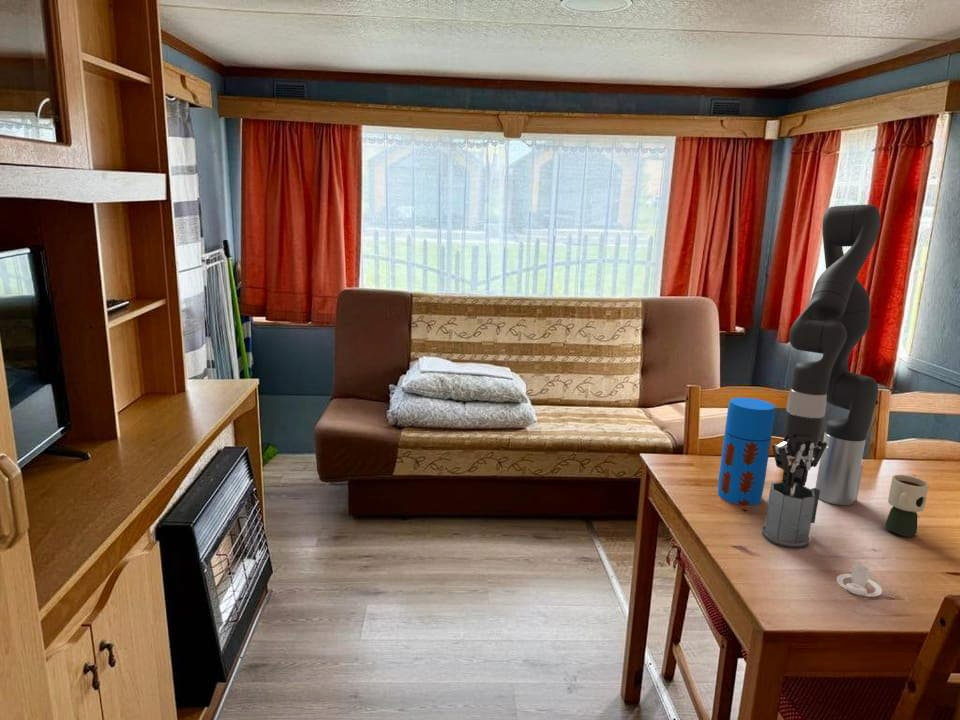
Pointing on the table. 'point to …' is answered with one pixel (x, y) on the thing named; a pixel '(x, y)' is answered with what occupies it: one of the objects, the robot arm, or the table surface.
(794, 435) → the robot arm
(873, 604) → the table surface
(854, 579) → the teacup and saucer
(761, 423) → the thermos
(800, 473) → the plunger
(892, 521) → the character mug
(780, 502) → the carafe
